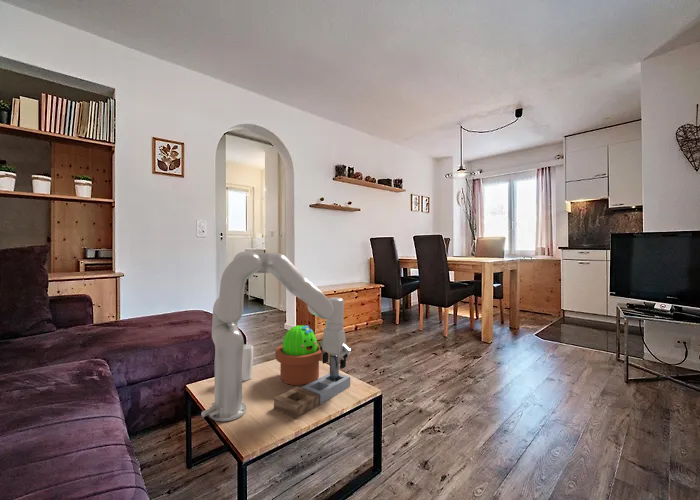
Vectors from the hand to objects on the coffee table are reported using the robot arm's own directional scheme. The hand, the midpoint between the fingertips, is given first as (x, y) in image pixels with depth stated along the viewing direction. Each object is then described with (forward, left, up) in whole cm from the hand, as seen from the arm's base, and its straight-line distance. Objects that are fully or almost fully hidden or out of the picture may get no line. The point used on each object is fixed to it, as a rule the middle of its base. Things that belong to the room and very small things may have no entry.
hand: (333, 365), depth 139 cm
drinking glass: (-18, +38, -10) cm, 43 cm away
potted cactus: (-2, +19, -10) cm, 21 cm away
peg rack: (-5, 0, -10) cm, 11 cm away
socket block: (-22, +1, -10) cm, 24 cm away
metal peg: (0, 0, -10) cm, 10 cm away
